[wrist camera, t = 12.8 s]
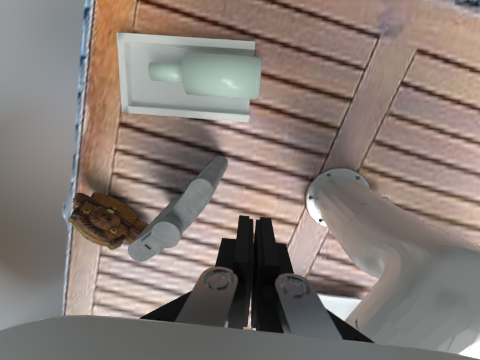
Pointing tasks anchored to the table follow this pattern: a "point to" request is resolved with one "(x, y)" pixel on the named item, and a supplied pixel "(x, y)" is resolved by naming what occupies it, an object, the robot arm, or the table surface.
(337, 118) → the table surface
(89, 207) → the wooden carving
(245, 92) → the bottle
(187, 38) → the white rectangular tray
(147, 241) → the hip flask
